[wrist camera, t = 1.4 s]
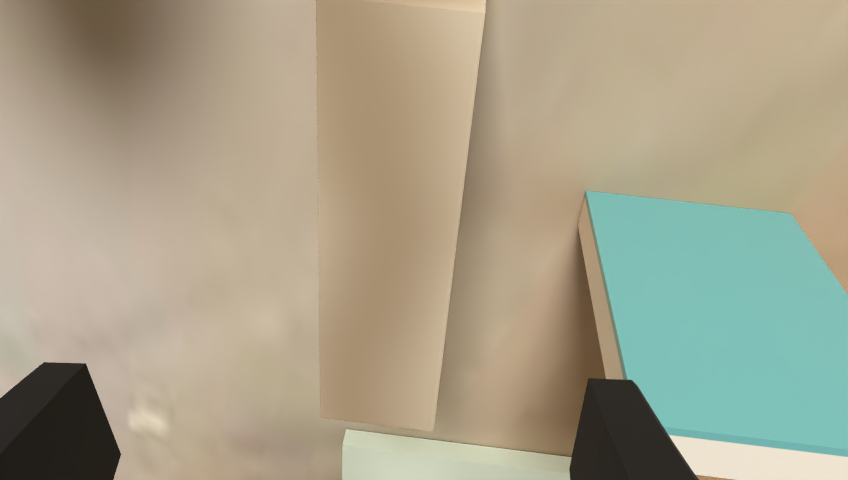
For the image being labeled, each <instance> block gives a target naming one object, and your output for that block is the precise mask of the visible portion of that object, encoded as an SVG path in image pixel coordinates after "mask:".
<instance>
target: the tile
mask: <svg viewBox="0 0 848 480" xmlns="http://www.w3.org/2000/svg"><path fill="white" fill-rule="evenodd" d="M578 229H579V234H580V239H581V245H582V250H583V256H584V261H585V267H586V272H587V278H588V283H589V289H590V294H591V299H592V305H593V310H594V316H595V321H596V327H597V332H598V338H599V343H600V348H601V354H602V359H603V365H604V370H605V376H606V379H622V380H633V382H634V383H635V384H636V385H637V386H638V387H639V389H640V390H641V392H642V394H643V395H644V397H645V398H646V400H647V402H648V403H649V405H650V407H651V408H652V410H653V411H654V413H655V415H656V416H657V418H658V419H659V421H660V422H661V424H662V426H663V427H664V429H665V430H666V432H667V433H668V435H669V436H670V438H671V439H672V441H673V443H674V444H675V446H676V447H677V448H678V450H679V451H680V453H681V454H682V456H683V457H684V459H685V460H686V462H687V463H688V465H689V466H690V468H691V469H692V471H693V472H694V474H695V475H703V476H711V477H719V478H727V479H735V480H848V295H847V293H846V292H845V291H844V289H843V288H842V286H841V285H840V283H839V282H838V281H837V279H836V278H835V276H834V275H833V273H832V272H831V270H830V269H829V268H828V266H827V265H826V263H825V262H824V260H823V259H822V258H821V256H820V255H819V253H818V252H817V250H816V249H815V247H814V246H813V245H812V243H811V242H810V240H809V239H808V237H807V236H806V235H805V233H804V232H803V230H802V229H801V227H800V226H799V225H798V223H797V222H796V220H795V219H794V217H793V216H792V214H791V213H783V212H774V211H765V210H756V209H747V208H738V207H729V206H720V205H711V204H702V203H693V202H684V201H675V200H666V199H657V198H648V197H639V196H630V195H621V194H612V193H603V192H593V191H586V192H585V197H584V201H583V205H582V209H581V214H580V218H579V222H578Z"/></svg>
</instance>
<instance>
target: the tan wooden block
mask: <svg viewBox="0 0 848 480" xmlns="http://www.w3.org/2000/svg"><path fill="white" fill-rule="evenodd" d="M485 8H486V0H316V36H317V139H318V241H319V344H320V418H327V419H336V420H344V421H352V422H360V423H368V424H377V425H385V426H393V427H401V428H409V429H417V430H426V431H434V423H435V415H436V407H437V399H438V391H439V383H440V375H441V367H442V359H443V351H444V343H445V334H446V326H447V318H448V310H449V302H450V294H451V286H452V278H453V270H454V262H455V254H456V246H457V237H458V229H459V221H460V213H461V205H462V197H463V189H464V181H465V173H466V165H467V157H468V148H469V140H470V132H471V124H472V116H473V108H474V100H475V92H476V84H477V76H478V68H479V59H480V51H481V43H482V35H483V27H484V19H485Z"/></svg>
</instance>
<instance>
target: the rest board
mask: <svg viewBox="0 0 848 480" xmlns="http://www.w3.org/2000/svg"><path fill="white" fill-rule="evenodd" d="M571 458H572V457H566V456H558V455H550V454H542V453H534V452H526V451H518V450H510V449H502V448H494V447H486V446H478V445H470V444H462V443H454V442H446V441H438V440H430V439H422V438H414V437H406V436H397V435H389V434H381V433H373V432H365V431H357V430H349V429H346V433H345V437H344V441H343V446H342V480H570V471H569V468H570V463H571Z"/></svg>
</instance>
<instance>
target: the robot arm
mask: <svg viewBox="0 0 848 480" xmlns="http://www.w3.org/2000/svg"><path fill="white" fill-rule="evenodd" d="M120 456H121V453H120V451H119V448H118V445H117V443H116V440H115V438H114V435H113V433H112V430H111V427H110V425H109V422H108V420H107V417H106V415H105V412H104V409H103V407H102V404H101V402H100V399H99V397H98V394H97V391H96V389H95V386H94V384H93V381H92V379H91V376H90V373H89V371H88V368H87V366H86V364H81V363H47V362H44V363H43V364H41V365H40V366H39V367H38V368H36V369H35V370H34V371H33V372H31V373H30V374H29V375H28V376H27V377H25V378H24V379H23V380H22V381H20V382H19V383H18V384H17V385H16V386H14V387H13V388H12V389H11V390H10V391H8V392H7V393H6V394H5V395H4V396H3V397H1V398H0V480H113V479H114V475H115V472H116V469H117V466H118V462H119V459H120ZM569 471H570V480H699V479H698V478H697V477H696V475H695V474H694V472H693V471H692V469H691V468H690V466H689V465H688V463H687V462H686V460H685V459H684V457H683V456H682V454H681V453H680V451H679V450H678V448H677V447H676V446H675V444H674V443H673V441H672V439H671V438H670V436H669V435H668V433H667V432H666V430H665V429H664V427H663V426H662V424H661V422H660V421H659V419H658V418H657V416H656V415H655V413H654V411H653V410H652V408H651V407H650V405H649V403H648V402H647V400H646V398H645V397H644V395H643V394H642V392H641V390H640V389H639V387H638V386H637V385H636V384H635V383H634V382H633V380H622V379H589V378H588V383H587V388H586V392H585V397H584V402H583V407H582V411H581V416H580V421H579V425H578V430H577V435H576V439H575V444H574V449H573V454H572V458H571V463H570V468H569Z"/></svg>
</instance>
